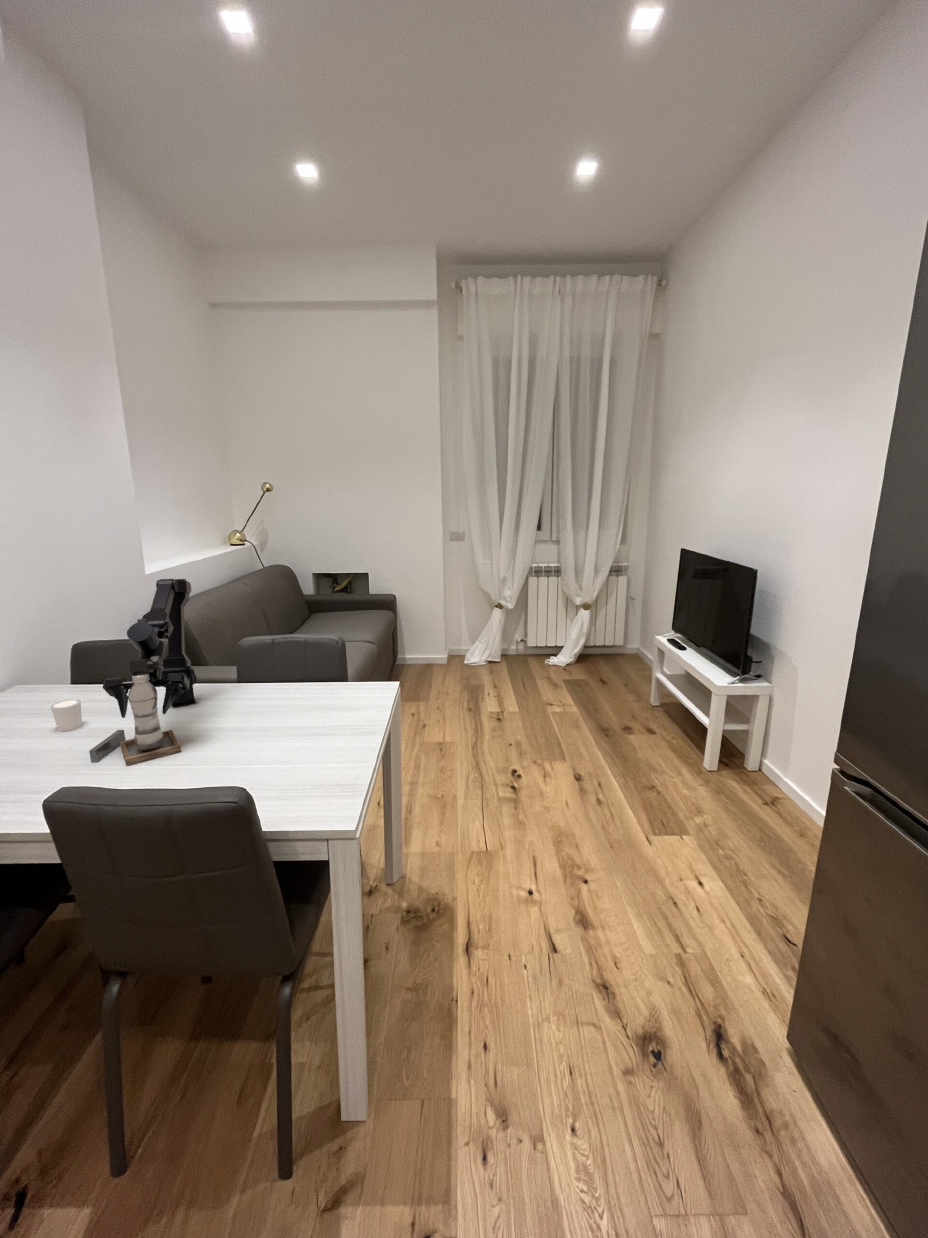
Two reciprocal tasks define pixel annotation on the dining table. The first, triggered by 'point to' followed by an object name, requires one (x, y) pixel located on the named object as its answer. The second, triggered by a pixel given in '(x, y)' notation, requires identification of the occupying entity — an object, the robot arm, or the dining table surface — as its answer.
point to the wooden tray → (137, 756)
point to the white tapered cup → (67, 714)
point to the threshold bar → (106, 746)
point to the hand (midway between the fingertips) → (143, 715)
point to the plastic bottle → (145, 712)
